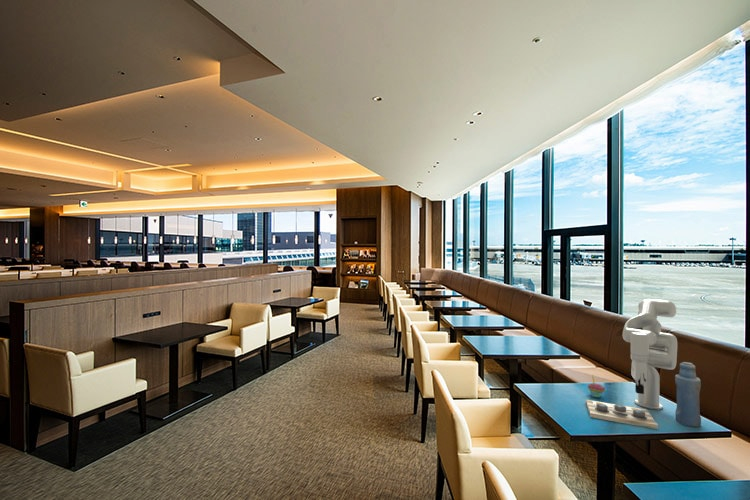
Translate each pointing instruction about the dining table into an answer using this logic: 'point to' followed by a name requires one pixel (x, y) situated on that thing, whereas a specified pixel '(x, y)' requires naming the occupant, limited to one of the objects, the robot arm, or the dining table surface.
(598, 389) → the cupcake
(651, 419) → the button board
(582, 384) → the dining table surface
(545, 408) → the dining table surface
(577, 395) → the dining table surface
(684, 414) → the bottle
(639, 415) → the button near bottle
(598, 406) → the button far
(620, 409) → the button middle
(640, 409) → the pattern card
